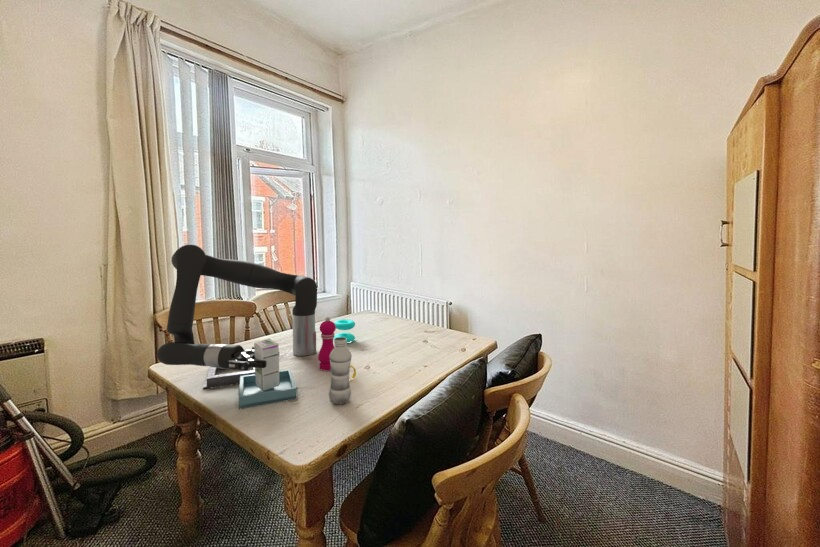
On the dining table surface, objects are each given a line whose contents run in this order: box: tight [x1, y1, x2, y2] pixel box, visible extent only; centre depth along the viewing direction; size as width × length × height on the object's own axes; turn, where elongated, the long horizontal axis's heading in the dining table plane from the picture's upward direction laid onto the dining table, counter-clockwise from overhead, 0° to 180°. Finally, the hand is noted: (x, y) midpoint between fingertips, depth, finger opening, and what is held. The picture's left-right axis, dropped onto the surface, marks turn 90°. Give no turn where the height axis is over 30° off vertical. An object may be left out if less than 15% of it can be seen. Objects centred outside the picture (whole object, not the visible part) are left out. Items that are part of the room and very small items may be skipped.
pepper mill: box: [317, 316, 337, 371], centre depth 128 cm, size 7×7×20 cm
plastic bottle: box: [328, 337, 353, 405], centre depth 102 cm, size 6×7×20 cm
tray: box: [238, 368, 298, 410], centre depth 107 cm, size 16×16×4 cm
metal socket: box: [202, 365, 255, 389], centre depth 120 cm, size 18×18×3 cm
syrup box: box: [253, 339, 280, 391], centre depth 106 cm, size 6×6×14 cm
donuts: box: [333, 318, 356, 342], centre depth 160 cm, size 10×10×10 cm
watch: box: [350, 363, 357, 379], centre depth 118 cm, size 6×3×6 cm, turn 119°
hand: (272, 359), depth 106 cm, fingers closed on syrup box, 8 cm apart
